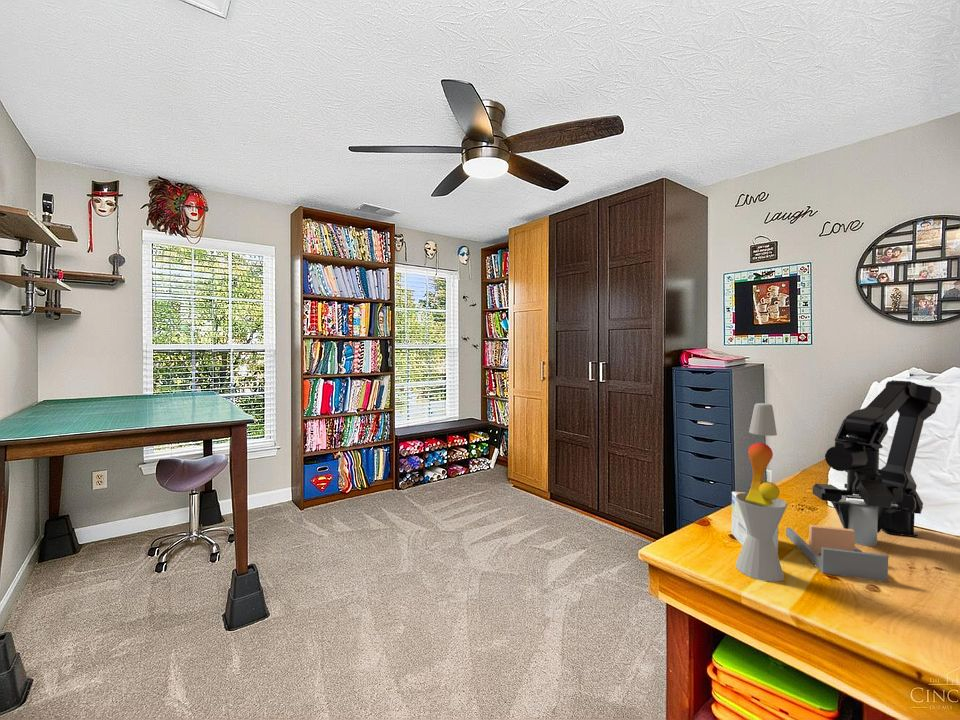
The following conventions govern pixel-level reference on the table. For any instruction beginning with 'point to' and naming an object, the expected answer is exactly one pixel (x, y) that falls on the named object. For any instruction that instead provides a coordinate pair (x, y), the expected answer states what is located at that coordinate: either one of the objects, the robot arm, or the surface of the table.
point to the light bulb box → (743, 524)
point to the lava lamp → (761, 506)
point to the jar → (863, 522)
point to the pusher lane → (844, 560)
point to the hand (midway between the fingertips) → (860, 530)
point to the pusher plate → (831, 538)
